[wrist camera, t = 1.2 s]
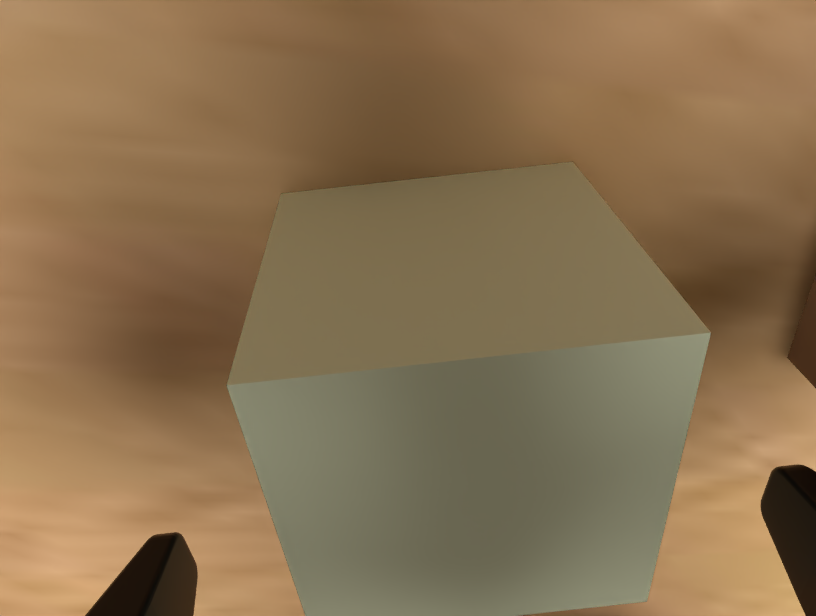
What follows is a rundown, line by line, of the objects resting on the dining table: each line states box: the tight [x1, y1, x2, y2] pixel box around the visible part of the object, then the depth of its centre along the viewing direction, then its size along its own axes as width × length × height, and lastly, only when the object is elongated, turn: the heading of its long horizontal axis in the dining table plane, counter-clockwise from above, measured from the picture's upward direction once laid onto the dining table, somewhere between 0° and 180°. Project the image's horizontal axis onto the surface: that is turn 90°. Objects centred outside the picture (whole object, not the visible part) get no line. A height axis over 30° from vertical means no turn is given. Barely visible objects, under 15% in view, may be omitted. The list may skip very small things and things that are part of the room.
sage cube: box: [226, 162, 711, 616], centre depth 12 cm, size 6×6×6 cm
